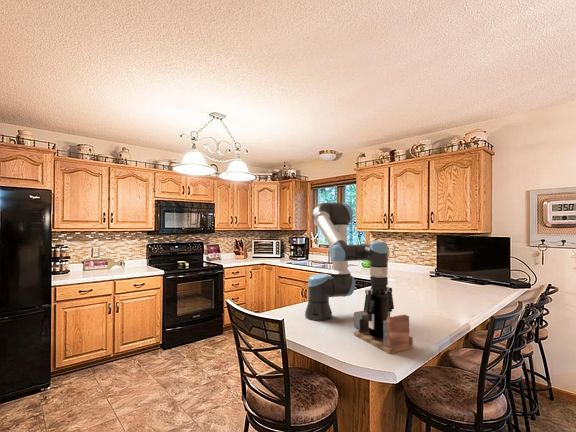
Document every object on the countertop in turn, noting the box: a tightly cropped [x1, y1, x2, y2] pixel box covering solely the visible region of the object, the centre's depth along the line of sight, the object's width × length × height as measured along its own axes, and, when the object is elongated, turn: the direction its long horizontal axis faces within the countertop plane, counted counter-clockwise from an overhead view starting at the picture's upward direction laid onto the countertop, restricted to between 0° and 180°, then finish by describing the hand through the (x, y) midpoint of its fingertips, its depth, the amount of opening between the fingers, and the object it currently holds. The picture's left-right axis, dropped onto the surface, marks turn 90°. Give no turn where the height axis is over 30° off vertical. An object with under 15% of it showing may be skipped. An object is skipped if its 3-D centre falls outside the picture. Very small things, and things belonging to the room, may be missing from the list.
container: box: [369, 294, 389, 338], centre depth 138 cm, size 9×9×18 cm
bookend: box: [353, 310, 370, 333], centre depth 149 cm, size 7×10×8 cm
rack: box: [353, 314, 414, 355], centre depth 138 cm, size 23×13×14 cm, turn 26°
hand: (379, 326), depth 138 cm, fingers closed on container, 8 cm apart
